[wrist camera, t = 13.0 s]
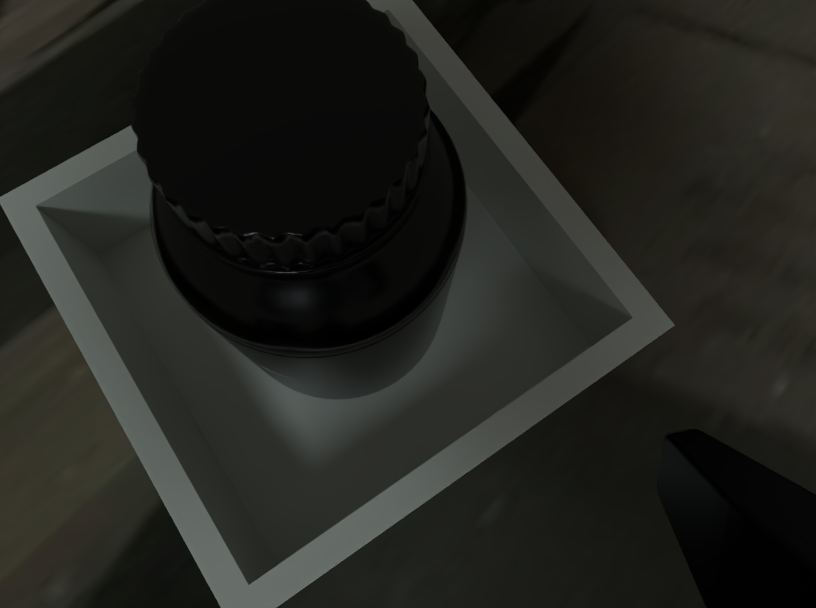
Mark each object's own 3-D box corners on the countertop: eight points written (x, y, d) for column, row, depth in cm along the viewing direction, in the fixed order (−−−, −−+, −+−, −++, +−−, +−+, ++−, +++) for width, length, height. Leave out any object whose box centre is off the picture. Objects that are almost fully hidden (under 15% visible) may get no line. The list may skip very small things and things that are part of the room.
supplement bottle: (228, 399, 21) (10, 290, 9) (253, 204, 23) (95, -88, 11) (441, 410, 21) (486, 313, 9) (448, 213, 23) (493, -71, 11)
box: (275, 601, 20) (236, 635, 15) (79, 256, 23) (-3, 198, 18) (618, 359, 22) (674, 325, 18) (397, 73, 25) (396, -21, 21)
